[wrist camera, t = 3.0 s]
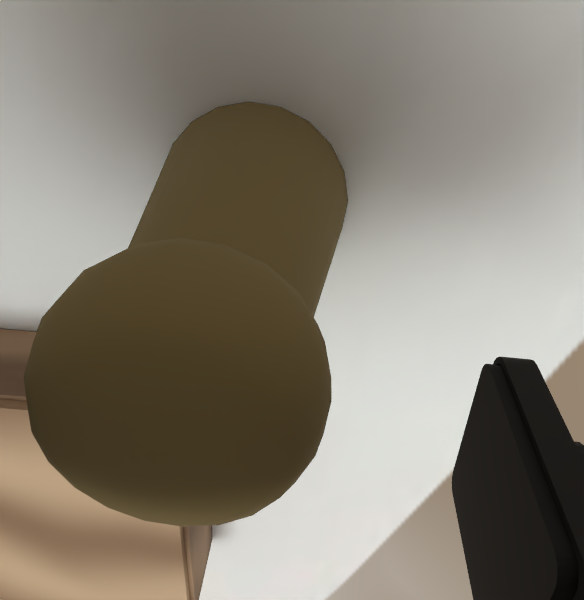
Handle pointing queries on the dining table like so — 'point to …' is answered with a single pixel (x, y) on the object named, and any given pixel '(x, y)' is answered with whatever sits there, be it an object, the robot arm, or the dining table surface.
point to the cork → (200, 330)
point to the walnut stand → (77, 521)
